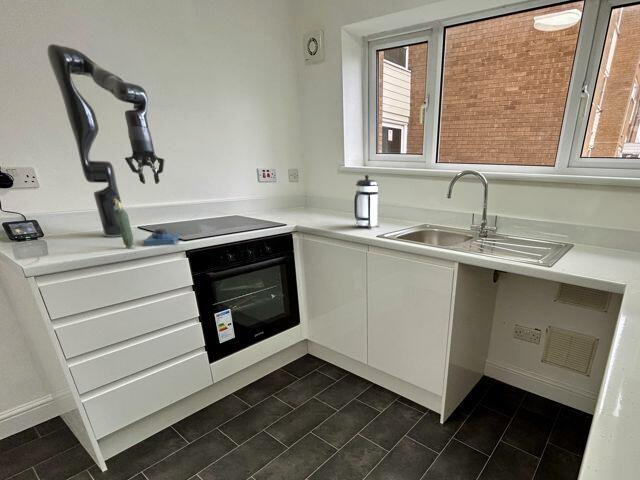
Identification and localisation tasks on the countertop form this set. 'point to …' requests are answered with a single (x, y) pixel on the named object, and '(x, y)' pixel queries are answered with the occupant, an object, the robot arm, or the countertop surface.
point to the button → (160, 231)
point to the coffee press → (366, 202)
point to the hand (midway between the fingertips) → (150, 183)
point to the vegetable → (123, 224)
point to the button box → (161, 239)
